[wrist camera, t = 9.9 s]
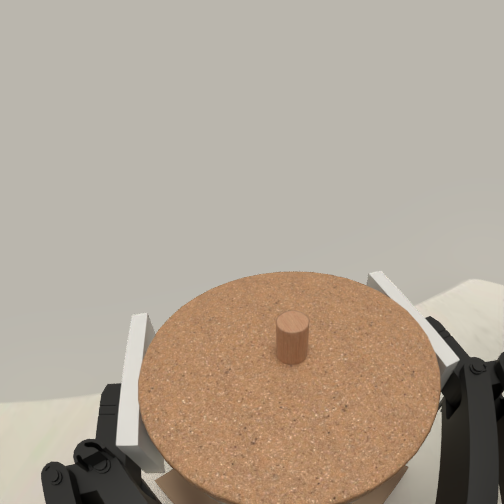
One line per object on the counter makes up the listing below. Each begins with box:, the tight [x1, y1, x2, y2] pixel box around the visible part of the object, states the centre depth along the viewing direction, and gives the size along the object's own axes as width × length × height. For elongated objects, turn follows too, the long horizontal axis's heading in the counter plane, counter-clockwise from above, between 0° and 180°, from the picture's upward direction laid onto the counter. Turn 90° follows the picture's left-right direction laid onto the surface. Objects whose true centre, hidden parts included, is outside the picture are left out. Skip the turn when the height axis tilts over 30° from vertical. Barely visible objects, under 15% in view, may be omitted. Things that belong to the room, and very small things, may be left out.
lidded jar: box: [138, 272, 441, 504], centre depth 11 cm, size 11×11×9 cm
